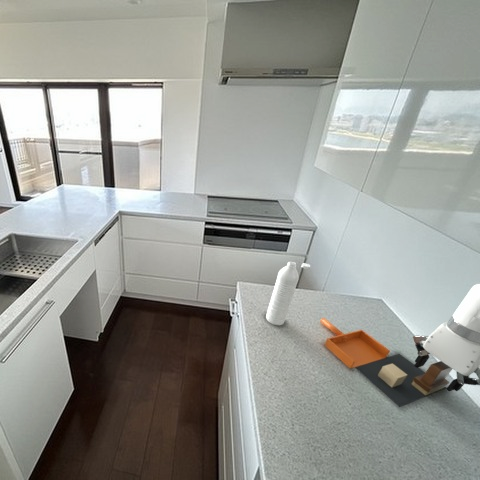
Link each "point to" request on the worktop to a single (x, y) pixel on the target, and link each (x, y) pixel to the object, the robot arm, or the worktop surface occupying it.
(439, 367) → the brush
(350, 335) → the dustpan
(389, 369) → the clay clod
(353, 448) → the worktop surface
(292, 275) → the water bottle
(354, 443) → the worktop surface
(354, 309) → the worktop surface
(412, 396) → the mat
